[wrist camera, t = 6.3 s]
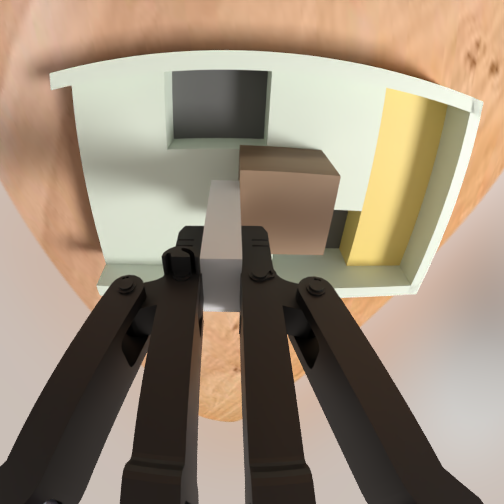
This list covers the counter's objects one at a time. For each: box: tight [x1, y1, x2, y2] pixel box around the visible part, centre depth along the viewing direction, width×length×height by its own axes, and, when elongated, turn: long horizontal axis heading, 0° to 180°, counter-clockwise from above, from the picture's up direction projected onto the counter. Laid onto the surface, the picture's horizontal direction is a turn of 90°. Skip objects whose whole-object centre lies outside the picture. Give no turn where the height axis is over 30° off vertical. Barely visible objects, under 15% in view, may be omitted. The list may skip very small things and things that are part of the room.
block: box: [238, 145, 341, 255], centre depth 18 cm, size 5×5×4 cm
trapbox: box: [49, 50, 483, 298], centre depth 19 cm, size 16×25×5 cm, turn 87°
